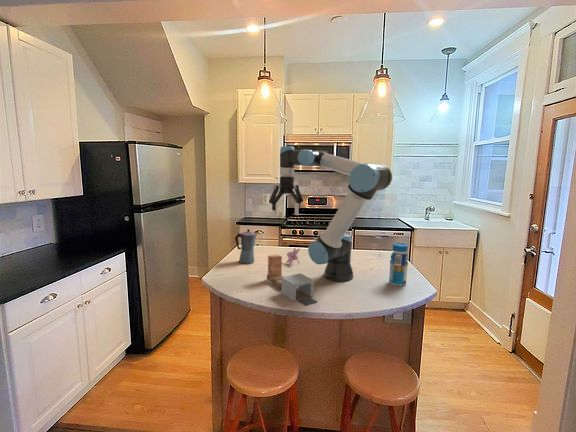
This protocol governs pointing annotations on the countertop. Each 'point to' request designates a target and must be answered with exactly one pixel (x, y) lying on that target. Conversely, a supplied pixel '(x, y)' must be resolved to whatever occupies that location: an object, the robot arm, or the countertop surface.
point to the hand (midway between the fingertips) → (286, 215)
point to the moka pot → (246, 246)
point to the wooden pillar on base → (275, 269)
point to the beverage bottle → (398, 264)
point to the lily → (292, 256)
